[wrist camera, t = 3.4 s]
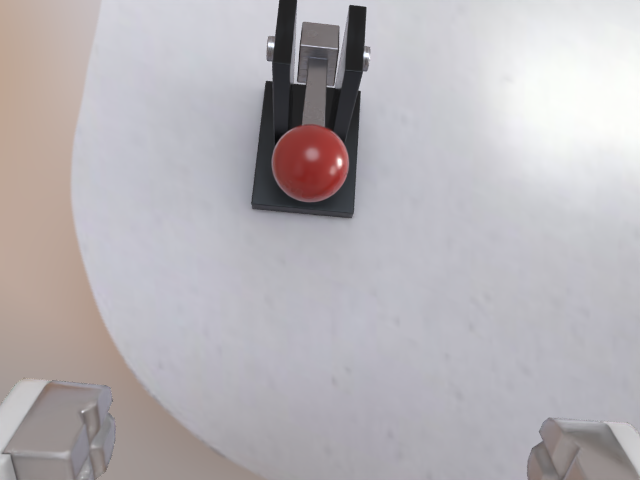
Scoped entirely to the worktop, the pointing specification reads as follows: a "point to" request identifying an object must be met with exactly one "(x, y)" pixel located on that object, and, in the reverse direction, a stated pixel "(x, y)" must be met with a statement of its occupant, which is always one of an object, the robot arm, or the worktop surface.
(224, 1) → the worktop surface
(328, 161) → the lever
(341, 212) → the bracket
